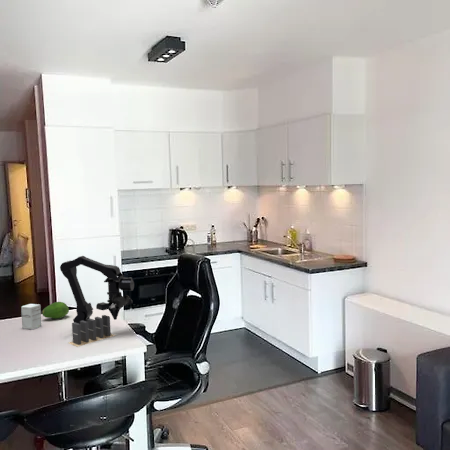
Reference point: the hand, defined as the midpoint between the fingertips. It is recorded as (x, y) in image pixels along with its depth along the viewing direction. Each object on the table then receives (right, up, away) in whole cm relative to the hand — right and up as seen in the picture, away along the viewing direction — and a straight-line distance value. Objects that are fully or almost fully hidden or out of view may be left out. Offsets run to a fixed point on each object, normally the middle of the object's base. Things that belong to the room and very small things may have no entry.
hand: (115, 319), depth 244 cm
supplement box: (-50, -8, +15) cm, 53 cm away
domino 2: (-12, -8, -13) cm, 19 cm away
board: (-9, -9, -10) cm, 16 cm away
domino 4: (-6, -8, -7) cm, 12 cm away
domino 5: (-4, -7, -4) cm, 9 cm away
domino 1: (-15, -9, -16) cm, 24 cm away
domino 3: (-9, -8, -10) cm, 16 cm away
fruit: (-43, -6, +32) cm, 54 cm away
